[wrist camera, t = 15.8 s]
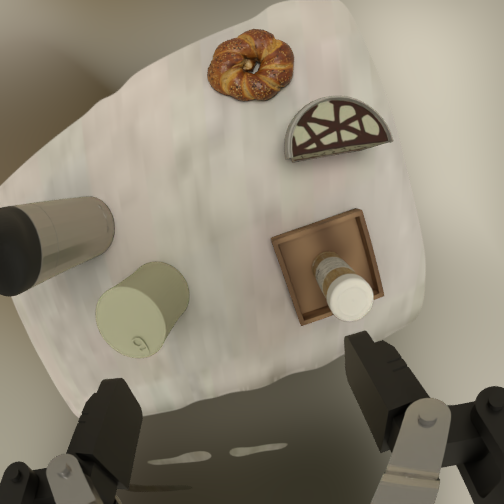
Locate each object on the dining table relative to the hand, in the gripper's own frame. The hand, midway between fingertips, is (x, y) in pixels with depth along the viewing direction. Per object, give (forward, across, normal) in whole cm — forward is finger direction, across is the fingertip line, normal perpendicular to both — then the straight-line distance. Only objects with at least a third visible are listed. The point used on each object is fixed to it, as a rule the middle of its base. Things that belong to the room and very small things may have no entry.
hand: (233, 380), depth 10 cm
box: (+30, -12, +11) cm, 34 cm away
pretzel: (+36, -7, -17) cm, 40 cm away
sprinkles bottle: (+30, -11, +11) cm, 34 cm away
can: (+33, +13, +11) cm, 37 cm away
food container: (+33, -14, -6) cm, 37 cm away
